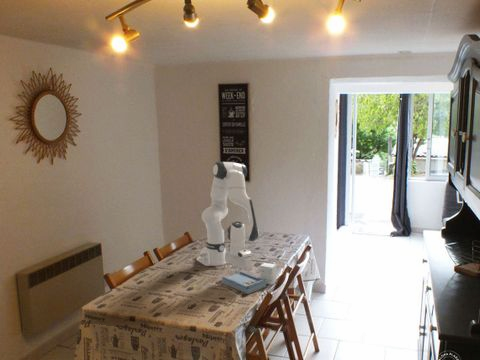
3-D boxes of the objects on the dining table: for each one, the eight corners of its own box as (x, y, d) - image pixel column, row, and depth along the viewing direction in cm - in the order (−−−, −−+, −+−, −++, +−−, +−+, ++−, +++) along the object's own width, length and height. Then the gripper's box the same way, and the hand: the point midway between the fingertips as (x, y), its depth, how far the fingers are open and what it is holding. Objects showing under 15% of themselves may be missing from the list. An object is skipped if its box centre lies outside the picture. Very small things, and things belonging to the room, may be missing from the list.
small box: (276, 281, 247) (276, 264, 245) (272, 285, 242) (272, 267, 241) (264, 279, 251) (264, 262, 250) (260, 282, 246) (260, 265, 245)
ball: (246, 288, 240) (244, 282, 240) (250, 286, 242) (248, 281, 242) (249, 287, 237) (247, 281, 238) (253, 285, 240) (251, 280, 240)
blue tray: (222, 282, 247) (222, 275, 246) (240, 276, 256) (239, 269, 255) (248, 293, 231) (248, 286, 230) (266, 286, 240) (265, 279, 239)
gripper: (222, 246, 248) (222, 269, 250) (244, 256, 233) (244, 279, 235) (230, 244, 252) (230, 266, 254) (253, 253, 237) (253, 277, 239)
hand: (237, 273), depth 245 cm, fingers closed
